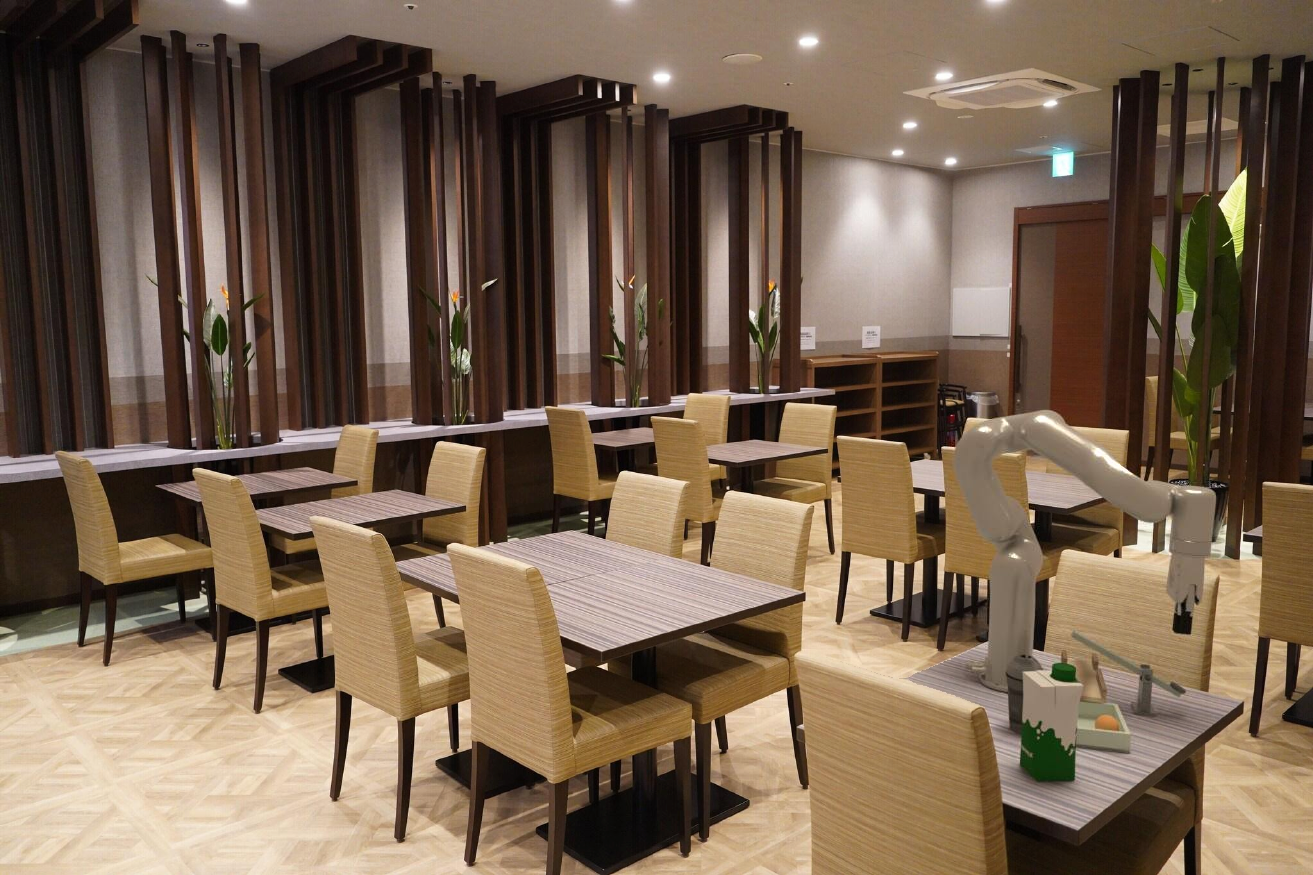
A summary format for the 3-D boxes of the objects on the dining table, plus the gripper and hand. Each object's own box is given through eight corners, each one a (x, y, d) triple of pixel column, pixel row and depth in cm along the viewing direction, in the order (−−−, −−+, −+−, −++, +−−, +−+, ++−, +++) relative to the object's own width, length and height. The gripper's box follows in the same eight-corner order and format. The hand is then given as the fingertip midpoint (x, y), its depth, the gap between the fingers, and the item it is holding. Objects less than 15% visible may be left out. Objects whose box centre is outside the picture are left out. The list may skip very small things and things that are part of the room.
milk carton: (1082, 782, 176) (1089, 675, 173) (1033, 784, 175) (1039, 676, 172) (1058, 760, 184) (1064, 657, 182) (1011, 762, 184) (1017, 659, 181)
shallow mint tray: (1061, 745, 191) (1063, 726, 190) (1053, 714, 205) (1054, 697, 205) (1129, 753, 188) (1130, 734, 187) (1116, 721, 202) (1117, 704, 202)
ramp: (1067, 720, 202) (1070, 675, 201) (1059, 691, 218) (1061, 649, 217) (1104, 724, 201) (1107, 679, 199) (1093, 695, 216) (1096, 652, 215)
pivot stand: (1135, 714, 206) (1138, 670, 205) (1130, 704, 211) (1133, 661, 210) (1156, 716, 205) (1159, 672, 204) (1151, 707, 210) (1154, 663, 209)
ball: (1092, 717, 192) (1088, 724, 196) (1106, 737, 190) (1102, 744, 193) (1111, 708, 193) (1107, 715, 196) (1126, 728, 190) (1121, 735, 194)
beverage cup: (1035, 723, 201) (1040, 629, 198) (1045, 738, 194) (1051, 641, 191) (998, 721, 202) (1003, 627, 199) (1007, 737, 194) (1012, 639, 192)
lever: (1072, 638, 209) (1076, 631, 208) (1070, 633, 212) (1074, 626, 211) (1182, 700, 204) (1187, 693, 203) (1179, 694, 207) (1184, 687, 207)
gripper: (1162, 537, 210) (1154, 620, 212) (1178, 553, 195) (1169, 642, 198) (1201, 540, 208) (1192, 623, 210) (1220, 557, 193) (1210, 646, 196)
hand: (1181, 632), depth 204 cm, fingers closed
